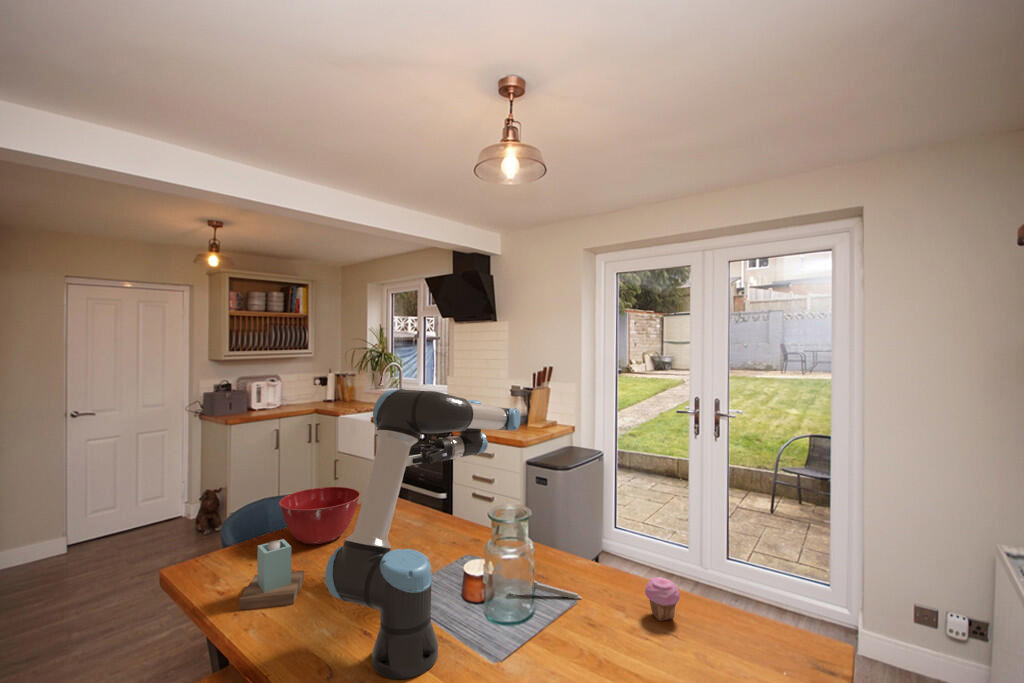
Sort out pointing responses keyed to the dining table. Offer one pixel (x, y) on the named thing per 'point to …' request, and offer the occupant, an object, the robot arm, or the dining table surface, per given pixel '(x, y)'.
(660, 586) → the cupcake
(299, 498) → the mixing bowl
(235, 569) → the dining table surface
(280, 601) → the wooden peg stand
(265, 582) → the collar
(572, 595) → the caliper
